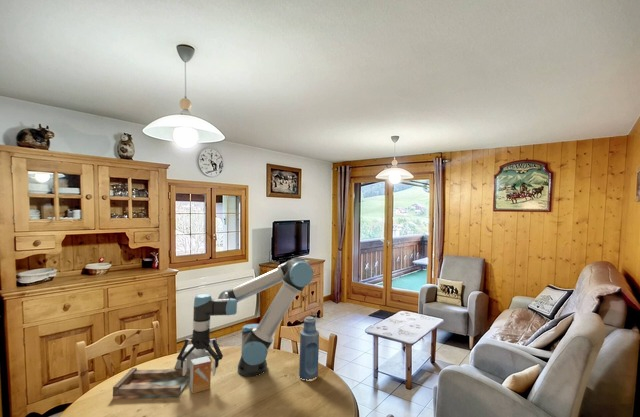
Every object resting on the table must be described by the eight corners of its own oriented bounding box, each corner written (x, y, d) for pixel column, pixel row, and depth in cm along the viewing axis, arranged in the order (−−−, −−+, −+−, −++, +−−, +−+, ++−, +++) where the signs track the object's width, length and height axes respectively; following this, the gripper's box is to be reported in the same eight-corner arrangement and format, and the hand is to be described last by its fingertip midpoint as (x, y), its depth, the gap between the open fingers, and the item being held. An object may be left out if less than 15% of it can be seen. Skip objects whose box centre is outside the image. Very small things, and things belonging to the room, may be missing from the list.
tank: (203, 377, 159) (203, 352, 160) (170, 377, 159) (171, 351, 159) (217, 354, 184) (218, 333, 185) (189, 354, 184) (190, 332, 184)
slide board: (191, 377, 159) (191, 366, 159) (179, 397, 142) (179, 385, 142) (132, 378, 156) (132, 367, 157) (112, 398, 140) (113, 386, 140)
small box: (192, 394, 145) (193, 365, 145) (189, 387, 150) (190, 359, 150) (210, 389, 149) (211, 360, 149) (207, 382, 154) (207, 355, 154)
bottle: (314, 371, 168) (315, 313, 168) (320, 380, 158) (322, 319, 159) (296, 373, 165) (298, 315, 165) (301, 383, 155) (303, 321, 156)
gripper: (230, 325, 154) (228, 370, 154) (176, 325, 152) (174, 370, 152) (227, 331, 147) (225, 378, 147) (170, 331, 145) (168, 378, 145)
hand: (199, 374), depth 149 cm, fingers open, 13 cm apart
